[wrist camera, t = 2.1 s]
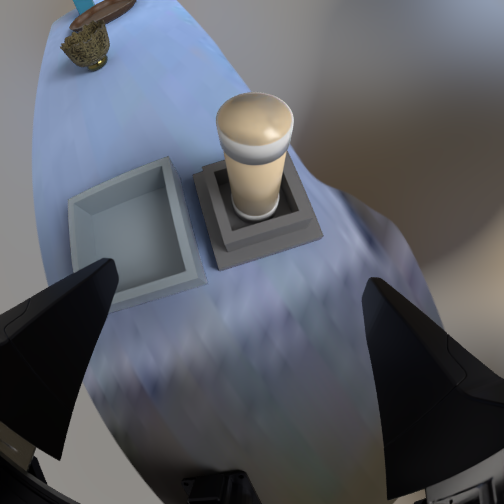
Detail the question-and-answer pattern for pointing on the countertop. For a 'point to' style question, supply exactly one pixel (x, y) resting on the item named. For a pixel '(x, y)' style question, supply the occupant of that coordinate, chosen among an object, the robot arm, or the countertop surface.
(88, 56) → the cup
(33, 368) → the robot arm
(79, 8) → the data package
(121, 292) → the tray
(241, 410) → the countertop surface
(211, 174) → the tray
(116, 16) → the plant saucer
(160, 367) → the countertop surface
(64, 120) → the countertop surface
